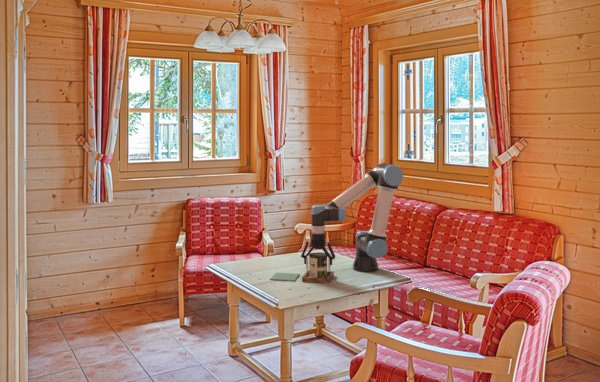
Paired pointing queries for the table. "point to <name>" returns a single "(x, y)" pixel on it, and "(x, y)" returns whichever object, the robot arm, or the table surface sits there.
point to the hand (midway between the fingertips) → (318, 270)
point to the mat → (284, 276)
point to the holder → (317, 280)
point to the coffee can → (318, 265)
